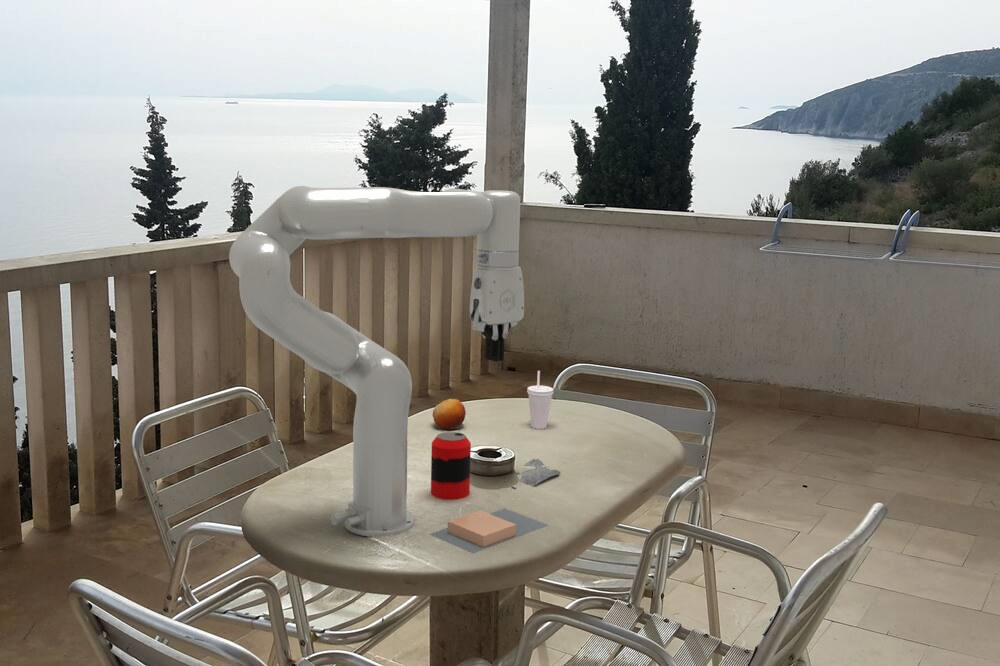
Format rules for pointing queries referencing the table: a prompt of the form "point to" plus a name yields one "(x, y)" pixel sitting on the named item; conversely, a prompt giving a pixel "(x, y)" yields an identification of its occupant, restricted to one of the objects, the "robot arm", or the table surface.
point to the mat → (522, 528)
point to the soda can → (450, 466)
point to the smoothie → (539, 404)
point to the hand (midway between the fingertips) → (494, 359)
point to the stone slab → (536, 473)
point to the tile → (481, 528)
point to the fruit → (449, 414)
